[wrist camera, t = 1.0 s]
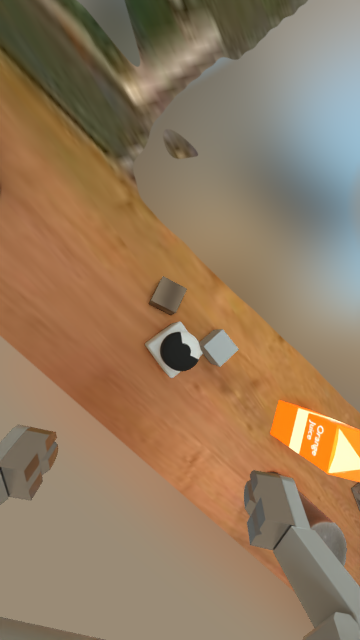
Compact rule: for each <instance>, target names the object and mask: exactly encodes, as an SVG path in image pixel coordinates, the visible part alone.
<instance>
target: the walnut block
mask: <svg viewBox="0 0 360 640" xmlns="http://www.w3.org/2000/svg"><path fill="white" fill-rule="evenodd" d="M186 290H187V289H186V288H184V287H183V286H181V285H179V284H177V283H175V282H173V281H171V280H169V279H167V278H165V277H164V276H163V277H162V279H161V280H160V282H159V284H158V286H157V288H156V290H155V292H154V294H153V296H152V298H151V300H150V302H149V305H151V306H153V307H155V308H157V309H159V310H161V311H163V312H165V313H167V314H169V315H172V314H174V313H176V311H177V309H178V307H179V305H180V303H181V301H182V299H183V296H184V294H185V292H186Z"/></svg>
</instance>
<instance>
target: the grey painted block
mask: <svg viewBox="0 0 360 640" xmlns="http://www.w3.org/2000/svg"><path fill="white" fill-rule="evenodd" d="M199 345H200V349H201V351H202V353H203V354H204V356H205V357H206V358H207V359H208V361H209V362H210V363H211V364H214V365H216V366H219V367H220V366H222V365H223V364H224V363H225V362H226V361H227V360H228V359H229V358H230V357H231V356H232V355H233V354H234V353H235V352H236V351H237V350H238V348H237V347H236V345H235V344H234V343H233V342H232V340H231V339H230V338H229V336H228V335H227V334H226V333H225V331H224V330H223V329H220V330H213V331H212V332H211V333H209V334H208V335H207V336H206V337H205V338H204V339H203V340H201V341H200V342H199Z"/></svg>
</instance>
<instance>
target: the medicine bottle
mask: <svg viewBox="0 0 360 640" xmlns="http://www.w3.org/2000/svg"><path fill="white" fill-rule="evenodd" d="M145 346H146V347H147V349H148V350H149V351H150V353H151V354H152V355H153V357H154V358H155V360H156V361H157V362H158V364H159V365H160V366H161V368H162V369H163V370H164V372H165V373H166V374H167V375H168V376H169V377H170V378H173V377H175V376H176V375H177V374H178V373H180V372H181V371H186V370H189V369H191V368H192V367H194V366H195V365H196V363H197V362H198V360H199V358H200V356H201V355H202V354H203V353H202V351H201V349H200V345H199V342H198V341H197V339H196V338H195V337H194V336H193V335H191V334H190V333H189V332H188V331H187V330H186V328H185V327H184V325H183V324H182V323H181V322H176V323H172V324H171V325H169V326H168V327H167V328H165V329H164V330H162V331H161V332H160V333H158V334H157V335H156V336H154V337H153V338H152V339H150V340H149V341H147V342H146V343H145Z"/></svg>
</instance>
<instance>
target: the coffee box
mask: <svg viewBox="0 0 360 640" xmlns="http://www.w3.org/2000/svg"><path fill="white" fill-rule="evenodd" d="M351 489H352V492H353V494H354V497H355V500H356V502H357V505H358V507H359V510H360V482H359V483H358V484H357V485H355V486H354V487H352V488H351Z"/></svg>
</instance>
